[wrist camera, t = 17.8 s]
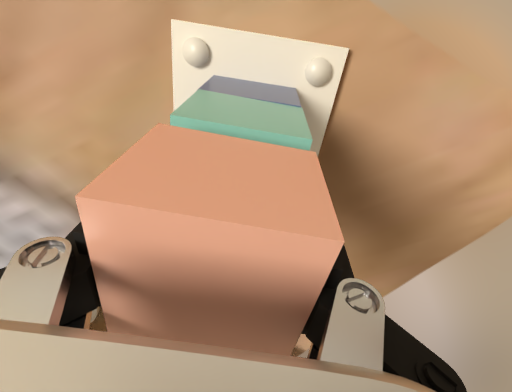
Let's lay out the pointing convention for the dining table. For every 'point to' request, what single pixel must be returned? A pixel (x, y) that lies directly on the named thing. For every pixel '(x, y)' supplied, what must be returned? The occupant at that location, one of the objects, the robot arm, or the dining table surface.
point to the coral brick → (210, 239)
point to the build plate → (257, 69)
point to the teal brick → (244, 119)
